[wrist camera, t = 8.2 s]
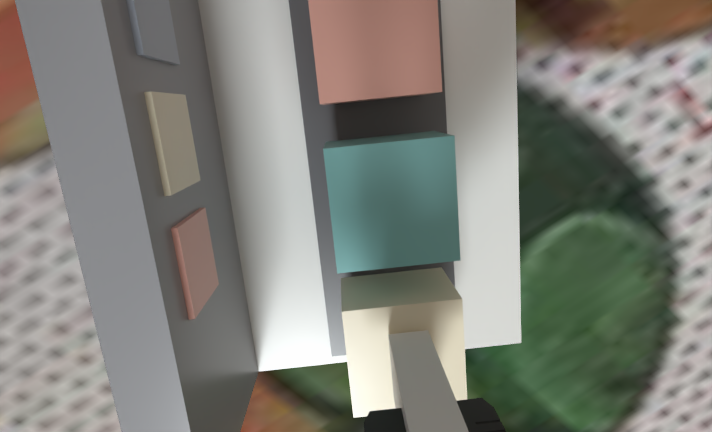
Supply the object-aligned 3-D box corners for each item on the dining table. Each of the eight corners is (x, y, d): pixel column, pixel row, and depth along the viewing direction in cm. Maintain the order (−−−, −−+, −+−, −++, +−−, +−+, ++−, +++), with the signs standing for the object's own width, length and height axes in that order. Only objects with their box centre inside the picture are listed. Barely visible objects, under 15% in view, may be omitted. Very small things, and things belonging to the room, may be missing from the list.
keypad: (214, 366, 24) (131, 537, 15) (116, -159, 19) (-122, -447, 9) (513, 333, 25) (629, 480, 15) (503, -194, 19) (676, -511, 9)
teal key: (337, 245, 20) (337, 273, 17) (325, 141, 19) (322, 148, 16) (439, 234, 20) (460, 260, 17) (433, 130, 19) (454, 135, 16)
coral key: (322, 105, 20) (319, 104, 17) (310, -6, 19) (304, -31, 16) (424, 94, 20) (442, 91, 17) (417, -17, 19) (435, -44, 16)
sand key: (350, 368, 21) (353, 417, 18) (340, 278, 20) (341, 311, 17) (446, 358, 21) (467, 405, 18) (441, 267, 20) (462, 298, 17)
